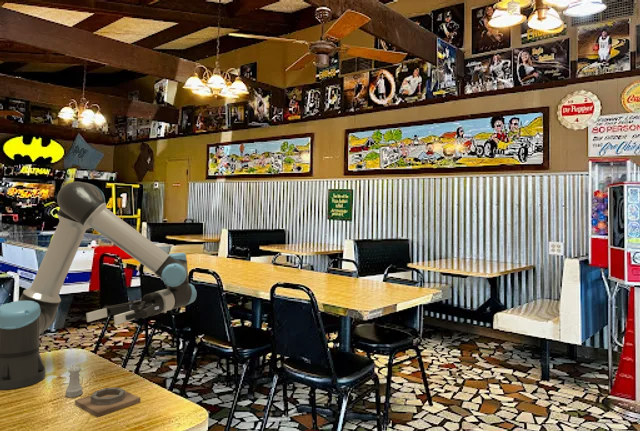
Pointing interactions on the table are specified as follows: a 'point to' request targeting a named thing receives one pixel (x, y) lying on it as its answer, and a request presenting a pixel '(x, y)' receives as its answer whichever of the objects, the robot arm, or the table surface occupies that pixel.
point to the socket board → (106, 407)
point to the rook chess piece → (74, 382)
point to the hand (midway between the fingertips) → (100, 319)
